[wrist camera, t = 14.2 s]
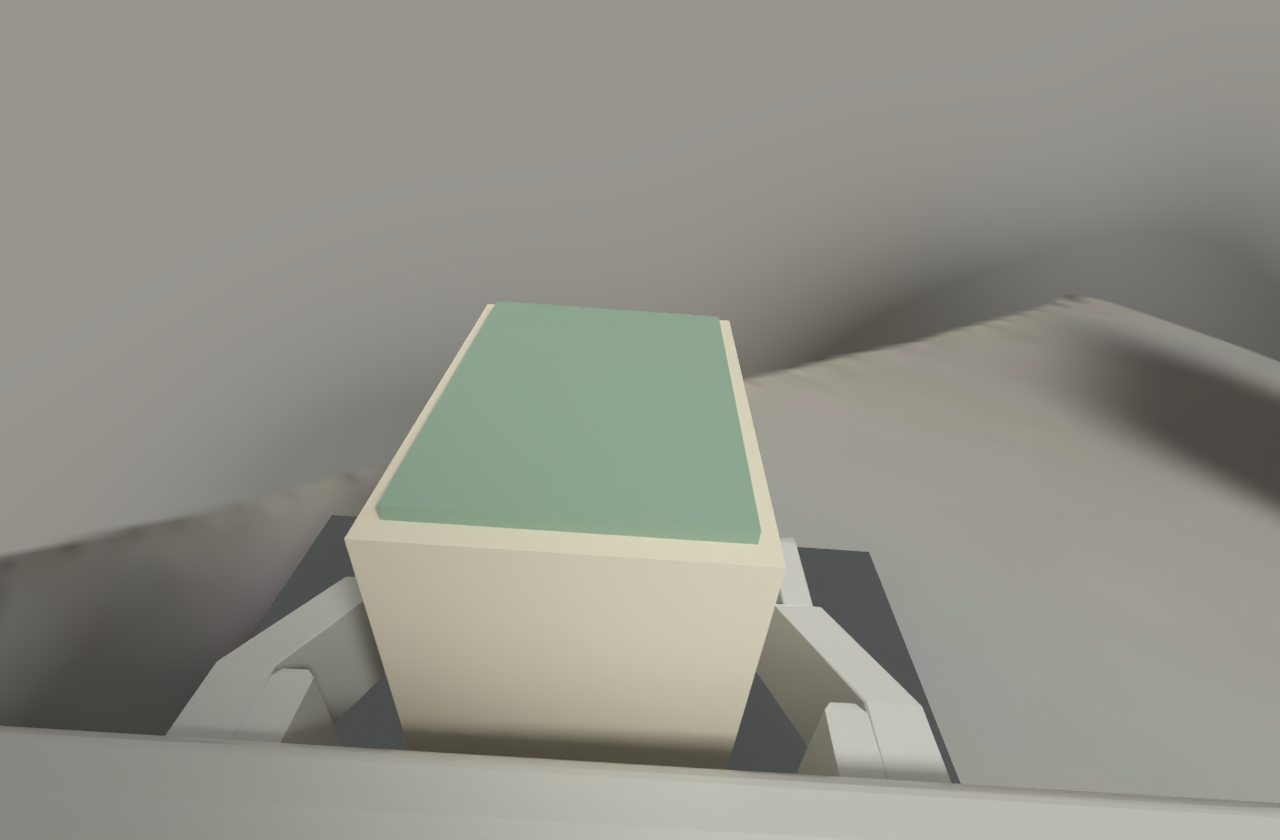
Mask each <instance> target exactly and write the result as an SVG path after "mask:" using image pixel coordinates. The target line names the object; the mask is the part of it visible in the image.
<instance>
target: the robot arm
mask: <svg viewBox="0 0 1280 840" xmlns="http://www.w3.org/2000/svg"><path fill="white" fill-rule="evenodd" d="M779 538H780V542H781V547H782V551H783V555H784V560H785V564H786V571H785V574H784V578H783V581H782V584H781V588H780V591H779V594H778V598H777V601H776V605H775V608H774V611H773V615H772V618H771V622H770V625H769V628H768V632H767V635H766V638H765V642H764V645H763V649H762V652H761V655H760V659H759V662H758V665H757V669H756V672H757V674H758V675H759V677H760V678H761V680H762V681H763V682H764V684H765V685H766V687H767V688H768V690H769V691H770V693H771V694H772V695H773V697H774V698H775V700H776V701H777V703H778V704H779V706H780V707H781V708H782V710H783V711H784V713H785V714H786V716H787V717H788V719H789V720H790V721H791V723H792V724H793V726H794V727H795V729H796V730H797V732H798V733H799V734H800V736H801V737H802V739H803V740H804V742H805V743H806V744H807V746H808V748H807V751H806V753H805V755H804V757H803V760H802V762H801V764H800V766H799V769H798V771H797V773H796V774H789V773H772V772H756V771H739V770H722V769H706V768H689V767H672V766H656V765H639V764H623V763H606V762H589V761H573V760H556V759H539V758H522V757H506V756H489V755H472V754H456V753H439V752H422V751H406V750H389V749H373V748H357V747H343V746H342V743H341V741H340V738H339V736H338V734H337V731H336V729H335V727H334V723H335V722H336V721H337V720H339V719H340V718H341V717H342V716H343V715H344V714H345V713H346V712H347V711H348V710H349V709H350V708H351V707H352V706H353V705H354V704H355V703H356V702H357V701H358V700H359V699H360V698H361V697H362V696H363V695H364V694H365V693H366V692H367V691H368V690H369V689H370V688H371V687H372V686H373V685H374V684H375V683H376V682H377V681H378V680H379V679H381V678H382V677H383V676H384V675H385V674H386V673H385V670H384V667H383V664H382V660H381V657H380V654H379V651H378V647H377V644H376V641H375V638H374V634H373V631H372V628H371V625H370V621H369V618H368V615H367V612H366V608H365V605H364V602H363V599H362V595H361V592H360V589H359V586H358V582H357V579H356V576H354V577H345V578H343V579H342V580H340V581H339V582H337V583H336V584H334V585H332V586H331V587H329V588H328V589H326V590H325V591H323V592H322V593H320V594H319V595H317V596H316V597H314V598H313V599H311V600H310V601H308V602H307V603H305V604H304V605H302V606H300V607H299V608H297V609H296V610H294V611H293V612H291V613H290V614H288V615H287V616H285V617H284V618H282V619H281V620H279V621H278V622H276V623H275V624H273V625H272V626H270V627H268V628H267V629H265V630H264V631H262V632H261V633H259V634H258V635H256V636H255V637H253V638H252V639H250V640H249V641H247V642H246V643H244V644H243V645H241V646H240V647H238V648H236V649H235V650H233V651H232V652H230V653H229V654H227V655H226V656H224V657H223V658H221V659H220V660H218V661H217V662H216V663H215V665H214V666H213V668H212V669H211V670H210V672H209V673H208V675H207V676H206V678H205V679H204V680H203V682H202V683H201V685H200V686H199V688H198V689H197V690H196V692H195V693H194V695H193V696H192V698H191V699H190V700H189V702H188V703H187V705H186V706H185V708H184V709H183V711H182V712H181V713H180V715H179V716H178V718H177V719H176V721H175V722H174V723H173V725H172V726H171V728H170V729H169V731H168V732H167V733H166V735H165V736H159V735H143V734H126V733H110V732H94V731H78V730H61V729H45V728H29V727H12V726H0V840H1280V803H1270V802H1253V801H1237V800H1220V799H1203V798H1186V797H1170V796H1153V795H1136V794H1120V793H1103V792H1087V791H1070V790H1053V789H1037V788H1020V787H1004V786H987V785H971V784H954V783H951V780H950V778H949V775H948V773H947V770H946V767H945V765H944V762H943V760H942V757H941V754H940V752H939V749H938V747H937V744H936V741H935V739H934V736H933V734H932V731H931V728H930V726H929V723H928V720H927V718H926V715H925V713H924V710H923V707H922V706H921V705H920V704H919V703H918V702H917V701H916V700H915V699H914V698H913V697H912V696H911V695H910V694H909V693H908V692H907V691H906V690H905V689H904V688H903V687H902V686H901V685H900V684H899V683H898V682H897V681H896V680H895V679H894V678H893V677H892V676H891V675H890V674H889V673H888V672H887V671H886V670H885V669H883V668H882V667H881V666H880V665H879V664H878V663H877V662H876V661H875V660H874V659H873V658H872V657H871V656H870V655H869V654H868V653H867V652H866V651H865V650H864V649H863V648H862V647H861V646H860V645H859V644H858V643H857V642H856V641H855V640H854V639H853V638H852V637H851V636H850V635H849V634H848V633H847V632H846V631H845V630H844V629H843V628H842V627H841V626H840V625H839V624H838V623H837V622H836V621H835V620H834V619H833V618H832V617H831V616H829V615H828V614H827V613H826V612H825V611H824V610H823V609H822V608H821V607H814V606H813V604H812V601H811V597H810V593H809V590H808V586H807V582H806V578H805V575H804V571H803V567H802V564H801V560H800V556H799V553H798V549H797V545H796V541H795V540H794V539H793V538H792V537H779Z"/></svg>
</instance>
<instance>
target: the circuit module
mask: <svg viewBox="0 0 1280 840" xmlns="http://www.w3.org/2000/svg"><path fill="white" fill-rule="evenodd" d="M344 540H345V543H346V547H347V550H348V553H349V556H350V560H351V563H352V566H353V569H354V573H355V576H356V579H357V582H358V586H359V589H360V592H361V595H362V599H363V602H364V605H365V608H366V612H367V615H368V618H369V621H370V625H371V628H372V631H373V634H374V638H375V641H376V644H377V647H378V651H379V654H380V657H381V660H382V664H383V667H384V670H385V673H386V677H387V680H388V683H389V686H390V690H391V693H392V696H393V699H394V703H395V706H396V709H397V712H398V716H399V719H400V722H401V725H402V728H403V732H404V735H405V738H406V741H407V745H408V748H409V751H422V752H439V753H456V754H472V755H489V756H506V757H522V758H539V759H556V760H573V761H589V762H606V763H623V764H639V765H656V766H672V767H689V768H706V769H722V770H727V767H728V763H729V760H730V757H731V753H732V750H733V746H734V743H735V740H736V736H737V733H738V730H739V726H740V723H741V719H742V716H743V713H744V709H745V706H746V703H747V699H748V696H749V692H750V689H751V686H752V682H753V679H754V676H755V672H756V669H757V665H758V662H759V659H760V655H761V652H762V649H763V645H764V642H765V638H766V635H767V632H768V628H769V625H770V622H771V618H772V615H773V611H774V608H775V605H776V601H777V598H778V594H779V591H780V588H781V584H782V581H783V578H784V574H785V571H786V564H785V560H784V555H783V551H782V547H781V542H780V538H779V534H778V529H777V525H776V521H775V516H774V512H773V508H772V504H771V499H770V495H769V491H768V486H767V482H766V478H765V473H764V469H763V465H762V460H761V456H760V452H759V447H758V443H757V439H756V435H755V430H754V426H753V422H752V417H751V413H750V409H749V404H748V400H747V396H746V391H745V387H744V383H743V378H742V374H741V370H740V366H739V362H738V357H737V353H736V348H735V344H734V340H733V336H732V332H731V327H730V322H729V321H723V320H719V317H715V316H701V315H687V314H672V313H658V312H644V311H630V310H616V309H602V308H601V309H600V308H587V307H573V306H559V305H558V306H557V305H545V304H531V303H530V304H529V303H515V302H502V301H497V302H496V304H488V305H487V306H486V308H485V310H484V311H483V313H482V315H481V316H480V318H479V320H478V321H477V323H476V324H475V326H474V328H473V329H472V331H471V332H470V334H469V336H468V337H467V339H466V341H465V342H464V344H463V346H462V347H461V349H460V351H459V352H458V354H457V356H456V357H455V359H454V360H453V362H452V364H451V365H450V367H449V369H448V370H447V372H446V373H445V375H444V377H443V378H442V380H441V381H440V383H439V385H438V386H437V388H436V390H435V391H434V393H433V395H432V396H431V398H430V399H429V401H428V403H427V404H426V406H425V408H424V409H423V411H422V412H421V414H420V416H419V418H418V419H417V421H416V422H415V424H414V426H413V427H412V429H411V431H410V432H409V434H408V435H407V437H406V439H405V440H404V442H403V444H402V445H401V447H400V448H399V450H398V452H397V453H396V455H395V457H394V458H393V460H392V461H391V463H390V465H389V466H388V468H387V470H386V471H385V473H384V475H383V476H382V478H381V479H380V481H379V483H378V484H377V486H376V488H375V489H374V491H373V492H372V494H371V496H370V497H369V499H368V501H367V502H366V504H365V506H364V507H363V509H362V510H361V512H360V514H359V515H358V517H357V519H356V520H355V522H354V524H353V525H352V527H351V528H350V530H349V532H348V533H347V535H346V537H345V538H344Z"/></svg>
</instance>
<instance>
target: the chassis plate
mask: <svg viewBox="0 0 1280 840" xmlns="http://www.w3.org/2000/svg"><path fill="white" fill-rule="evenodd" d="M356 519H357V517H350V516H335V515H332V516H331V518H330V519H329V521H328V522H327V524H326V525H325V527H324V528H323V530H322V531H321V533H320V534H319V536H318V537H317V539H316V540H315V542H314V543H313V545H312V546H311V548H310V549H309V551H308V552H307V554H306V555H305V557H304V559H303V560H302V562H301V563H300V565H299V566H298V568H297V569H296V571H295V572H294V574H293V575H292V577H291V578H290V580H289V581H288V583H287V584H286V586H285V587H284V589H283V590H282V592H281V593H280V595H279V596H278V598H277V599H276V601H275V602H274V604H273V606H272V607H271V609H270V610H269V612H268V613H267V615H266V616H265V618H264V619H263V621H262V622H261V624H260V625H259V627H258V628H257V630H256V631H255V633H254V634H253V636H252V637H251V639H252V638H253V637H255V636H256V635H258V634H259V633H261V632H262V631H264V630H265V629H267V628H268V627H270V626H272V625H273V624H275V623H276V622H278V621H279V620H281V619H282V618H284V617H285V616H287V615H288V614H290V613H291V612H293V611H294V610H296V609H297V608H299V607H300V606H302V605H304V604H305V603H307V602H308V601H310V600H311V599H313V598H314V597H316V596H317V595H319V594H320V593H322V592H323V591H325V590H326V589H328V588H329V587H331V586H332V585H334V584H336V583H337V582H339V581H340V580H342V579H343V578H345V577H354V576H355V573H354V569H353V566H352V563H351V560H350V556H349V553H348V550H347V547H346V543H345V540H344V538H345V537H346V535H347V533H348V532H349V530H350V528H351V527H352V525H353V524H354V522H355V520H356ZM797 549H798V553H799V556H800V560H801V564H802V567H803V571H804V575H805V578H806V582H807V586H808V590H809V593H810V597H811V601H812V604H813V606H814V607H821V608H822V609H823V610H824V611H825V612H826V613H827V614H828V615H829V616H831V617H832V618H833V619H834V620H835V621H836V622H837V623H838V624H839V625H840V626H841V627H842V628H843V629H844V630H845V631H846V632H847V633H848V634H849V635H850V636H851V637H852V638H853V639H854V640H855V641H856V642H857V643H858V644H859V645H860V646H861V647H862V648H863V649H864V650H865V651H866V652H867V653H868V654H869V655H870V656H871V657H872V658H873V659H874V660H875V661H876V662H877V663H878V664H879V665H880V666H881V667H882V668H883V669H885V670H886V671H887V672H888V673H889V674H890V675H891V676H892V677H893V678H894V679H895V680H896V681H897V682H898V683H899V684H900V685H901V686H902V687H903V688H904V689H905V690H906V691H907V692H908V693H909V694H910V695H911V696H912V697H913V698H914V699H915V700H916V701H917V702H918V703H919V704H920V705H921V706H922V707H923V710H924V713H925V715H926V718H927V720H928V723H929V726H930V728H931V731H932V734H933V736H934V739H935V741H936V744H937V747H938V749H939V752H940V754H941V757H942V760H943V762H944V765H945V767H946V770H947V773H948V775H949V778H950V780H951V783H954V784H960V781H959V779H958V776H957V774H956V771H955V769H954V766H953V764H952V761H951V759H950V756H949V754H948V751H947V749H946V746H945V744H944V741H943V738H942V736H941V733H940V731H939V728H938V726H937V723H936V721H935V718H934V716H933V713H932V711H931V708H930V706H929V703H928V701H927V698H926V695H925V693H924V690H923V688H922V685H921V683H920V680H919V678H918V675H917V673H916V670H915V668H914V665H913V663H912V660H911V658H910V655H909V653H908V650H907V647H906V645H905V642H904V640H903V637H902V635H901V632H900V630H899V627H898V625H897V622H896V620H895V617H894V615H893V612H892V610H891V607H890V604H889V602H888V599H887V597H886V594H885V592H884V589H883V587H882V584H881V582H880V579H879V577H878V574H877V572H876V569H875V567H874V564H873V561H872V559H871V556H870V554H869V552H859V551H845V550H830V549H816V548H801V547H797ZM334 727H335V729H336V731H337V734H338V736H339V738H340V741H341V743H342V746H343V747H357V748H373V749H389V750H406V751H409V748H408V745H407V741H406V738H405V735H404V732H403V728H402V725H401V722H400V719H399V716H398V712H397V709H396V706H395V703H394V699H393V696H392V693H391V690H390V686H389V683H388V680H387V677H386V674H385V675H384V676H383V677H382V678H381V679H379V680H378V681H377V682H376V683H375V684H374V685H373V686H372V687H371V688H370V689H369V690H368V691H367V692H366V693H365V694H364V695H363V696H362V697H361V698H360V699H359V700H358V701H357V702H356V703H355V704H354V705H353V706H352V707H351V708H350V709H349V710H348V711H347V712H346V713H345V714H344V715H343V716H342V717H341V718H340V719H339V720H337V721H336V722H335V723H334ZM807 748H808V746H807V744H806V743H805V742H804V740H803V739H802V737H801V736H800V734H799V733H798V732H797V730H796V729H795V727H794V726H793V724H792V723H791V721H790V720H789V719H788V717H787V716H786V714H785V713H784V711H783V710H782V708H781V707H780V706H779V704H778V703H777V701H776V700H775V698H774V697H773V695H772V694H771V693H770V691H769V690H768V688H767V687H766V685H765V684H764V682H763V681H762V680H761V678H760V677H759V675H758V674H757V672H755V676H754V679H753V682H752V686H751V689H750V692H749V696H748V699H747V703H746V706H745V709H744V713H743V716H742V719H741V723H740V726H739V730H738V733H737V736H736V740H735V743H734V746H733V750H732V753H731V757H730V760H729V763H728V767H727V770H739V771H756V772H772V773H789V774H796V773H797V771H798V769H799V766H800V764H801V762H802V760H803V757H804V755H805V753H806V751H807Z"/></svg>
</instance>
